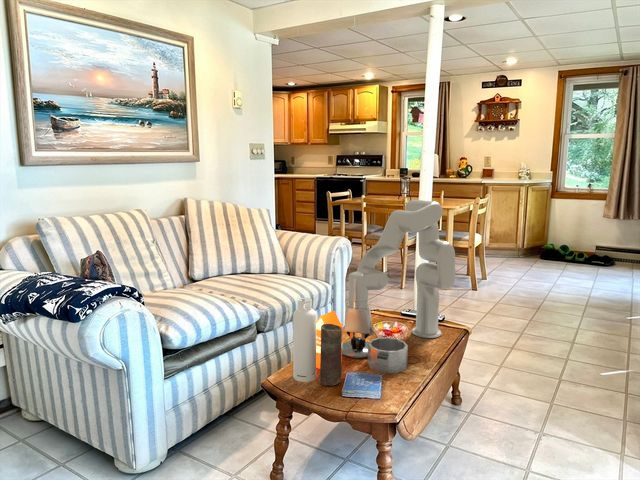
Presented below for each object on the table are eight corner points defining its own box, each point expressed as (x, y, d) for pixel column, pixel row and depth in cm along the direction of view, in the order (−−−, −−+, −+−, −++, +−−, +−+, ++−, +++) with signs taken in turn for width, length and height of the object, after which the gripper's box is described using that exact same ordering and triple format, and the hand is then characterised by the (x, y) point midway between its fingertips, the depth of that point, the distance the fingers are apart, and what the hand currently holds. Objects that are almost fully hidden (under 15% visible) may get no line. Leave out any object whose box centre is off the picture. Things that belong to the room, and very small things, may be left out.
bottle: (309, 369, 172) (310, 295, 168) (320, 378, 165) (320, 301, 160) (289, 374, 168) (289, 298, 164) (299, 383, 161) (299, 304, 157)
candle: (328, 375, 167) (328, 321, 164) (345, 381, 163) (346, 325, 160) (315, 383, 161) (315, 327, 158) (333, 389, 157) (334, 331, 154)
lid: (344, 341, 198) (344, 329, 198) (380, 345, 194) (380, 333, 193) (334, 355, 184) (334, 343, 183) (373, 360, 180) (373, 348, 179)
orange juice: (311, 366, 175) (311, 314, 172) (325, 358, 182) (326, 308, 179) (328, 371, 171) (328, 318, 167) (342, 363, 177) (343, 312, 174)
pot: (374, 353, 188) (375, 333, 186) (410, 358, 183) (411, 338, 181) (362, 372, 170) (362, 351, 169) (401, 378, 166) (402, 356, 164)
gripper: (335, 304, 185) (335, 348, 188) (376, 308, 179) (375, 354, 183) (341, 298, 192) (341, 342, 195) (380, 302, 186) (380, 347, 189)
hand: (358, 347), depth 189 cm, fingers closed on lid, 2 cm apart
